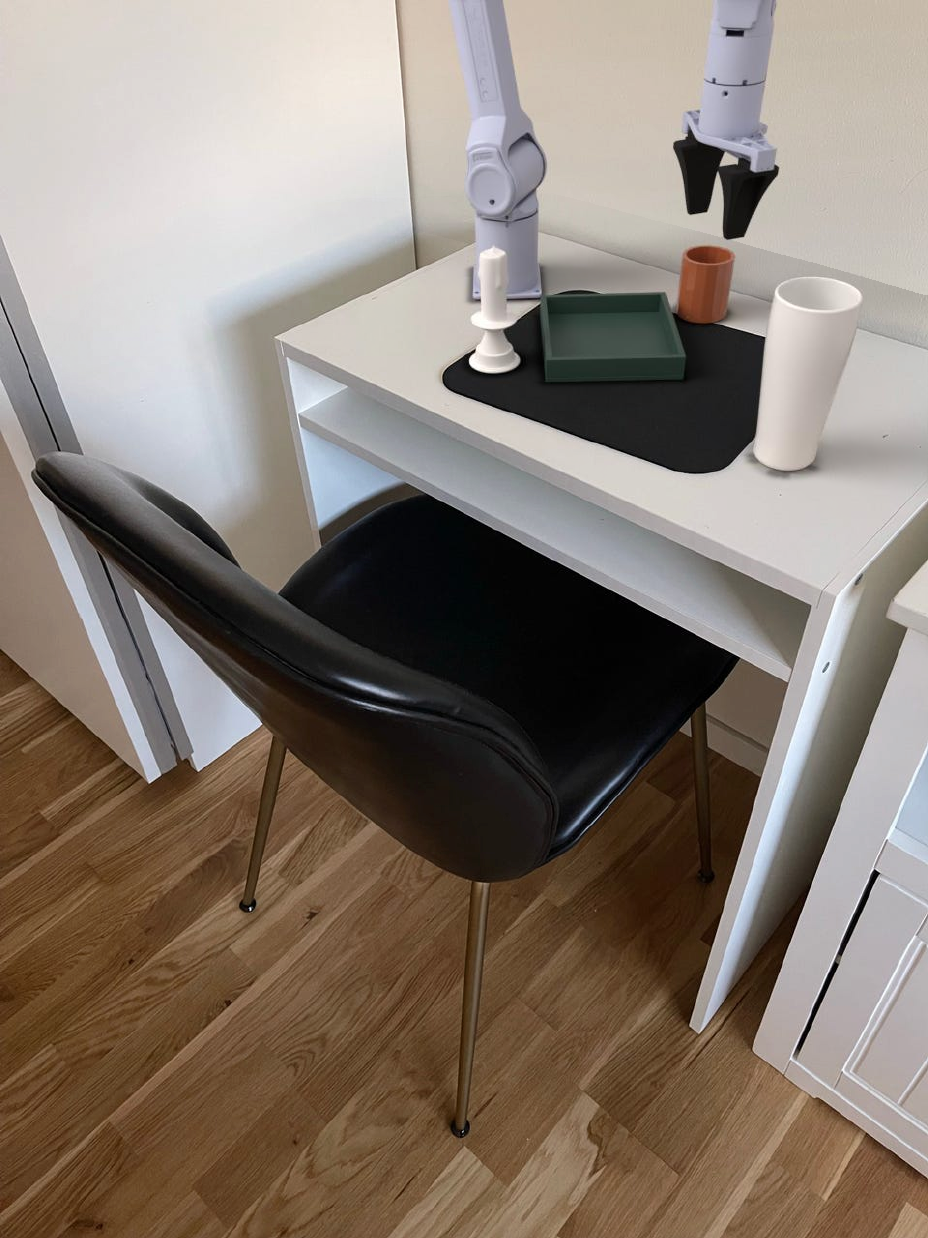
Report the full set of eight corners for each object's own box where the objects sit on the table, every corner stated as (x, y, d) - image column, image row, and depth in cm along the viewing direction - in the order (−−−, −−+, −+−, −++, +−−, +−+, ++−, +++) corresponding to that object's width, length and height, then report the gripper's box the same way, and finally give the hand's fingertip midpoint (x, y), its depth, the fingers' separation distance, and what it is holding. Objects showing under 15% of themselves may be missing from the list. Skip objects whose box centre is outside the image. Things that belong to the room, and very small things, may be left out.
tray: (540, 316, 108) (540, 294, 106) (663, 313, 107) (665, 291, 105) (545, 382, 96) (546, 359, 95) (683, 379, 96) (686, 356, 94)
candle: (474, 348, 102) (471, 235, 94) (524, 351, 101) (524, 237, 93) (464, 372, 99) (460, 256, 90) (515, 375, 98) (516, 258, 90)
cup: (673, 302, 109) (679, 245, 105) (721, 301, 109) (729, 244, 104) (679, 324, 105) (687, 265, 101) (729, 322, 105) (739, 264, 100)
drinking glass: (737, 437, 88) (766, 276, 78) (812, 436, 87) (851, 274, 77) (751, 479, 83) (784, 312, 73) (831, 478, 82) (875, 310, 72)
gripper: (815, 91, 86) (787, 242, 95) (732, 57, 97) (714, 196, 106) (746, 100, 85) (724, 253, 94) (669, 65, 95) (656, 206, 104)
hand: (715, 224), depth 100 cm, fingers open, 7 cm apart
